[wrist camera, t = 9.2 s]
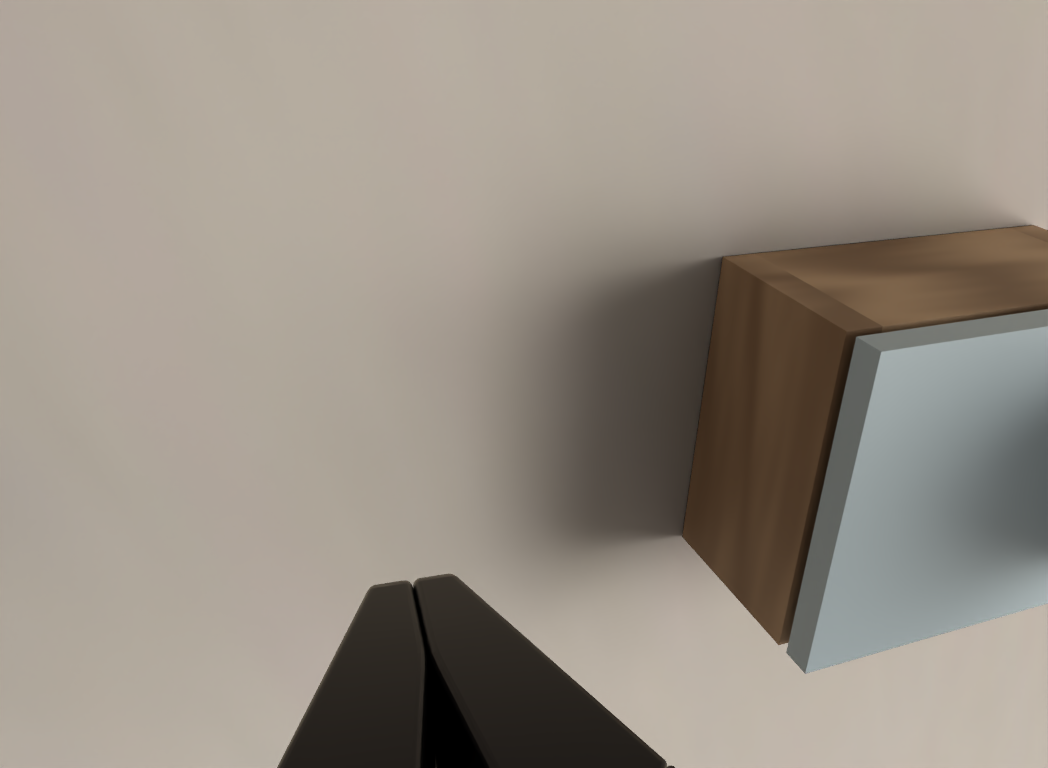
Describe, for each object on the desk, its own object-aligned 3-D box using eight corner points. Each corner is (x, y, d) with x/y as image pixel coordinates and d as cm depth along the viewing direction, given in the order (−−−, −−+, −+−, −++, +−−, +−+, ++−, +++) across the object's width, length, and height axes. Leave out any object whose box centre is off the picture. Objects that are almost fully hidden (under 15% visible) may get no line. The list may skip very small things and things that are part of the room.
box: (682, 536, 29) (778, 645, 25) (722, 256, 25) (846, 331, 21) (958, 476, 33) (1081, 562, 29) (1033, 225, 29) (1190, 283, 25)
